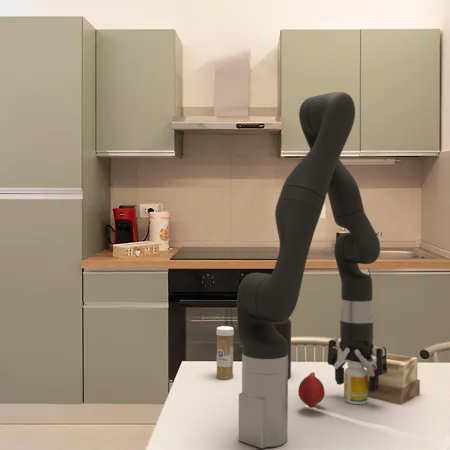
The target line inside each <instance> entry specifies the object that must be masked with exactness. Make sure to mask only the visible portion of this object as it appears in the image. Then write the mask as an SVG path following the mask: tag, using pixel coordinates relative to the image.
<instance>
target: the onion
mask: <svg viewBox="0 0 450 450" xmlns="http://www.w3.org/2000/svg"><path fill="white" fill-rule="evenodd" d="M325 392H326V391H325V387H324V384H323V382H322V380H320V379H319V378H317V377H316V373H315V372H313V371H312V372H310V373H309V374H308V375H307V376H305V377H304V378H303V379H302V381H301V382H300V383H299V386H298V396H299V400H301V402H303V403H304V404H305V405H307V407H308V408H312V409H313V408H315V407H317V405H318V404H319V403H321V402H322V401H323V399H324V398H325V395H326V393H325Z"/></svg>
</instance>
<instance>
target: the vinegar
mask: <svg viewBox="0 0 450 450" xmlns="http://www.w3.org/2000/svg"><path fill="white" fill-rule="evenodd" d="M273 325H274V327H275V329H276V330H277V331H278V332H279V333H280V334H281V335H282V336H283V337H284V338H285V339H286V340H287V342H288V380H289V379H290V378H291V377H292V320H291V319H290V317H289V318H288V319H287V320H286V321H284V322H280V323H277V322H273Z"/></svg>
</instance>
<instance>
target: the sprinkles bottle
mask: <svg viewBox="0 0 450 450" xmlns="http://www.w3.org/2000/svg"><path fill="white" fill-rule="evenodd" d="M234 330H235V329H234V327H232V326H227V325H221V326H217V327H216V339H217V340H216V376H215V377H216V378H217V380H223V381H225V380H226V381H227V380H231V379H233V378H234V374H233V372H234V333H235V331H234Z"/></svg>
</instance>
